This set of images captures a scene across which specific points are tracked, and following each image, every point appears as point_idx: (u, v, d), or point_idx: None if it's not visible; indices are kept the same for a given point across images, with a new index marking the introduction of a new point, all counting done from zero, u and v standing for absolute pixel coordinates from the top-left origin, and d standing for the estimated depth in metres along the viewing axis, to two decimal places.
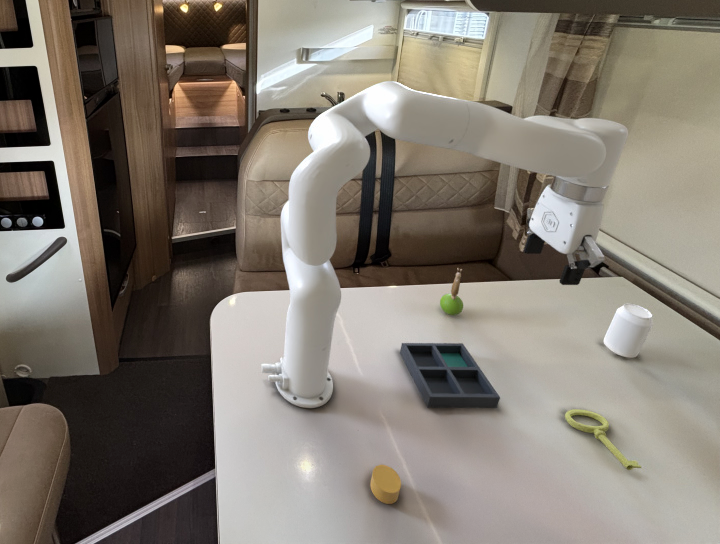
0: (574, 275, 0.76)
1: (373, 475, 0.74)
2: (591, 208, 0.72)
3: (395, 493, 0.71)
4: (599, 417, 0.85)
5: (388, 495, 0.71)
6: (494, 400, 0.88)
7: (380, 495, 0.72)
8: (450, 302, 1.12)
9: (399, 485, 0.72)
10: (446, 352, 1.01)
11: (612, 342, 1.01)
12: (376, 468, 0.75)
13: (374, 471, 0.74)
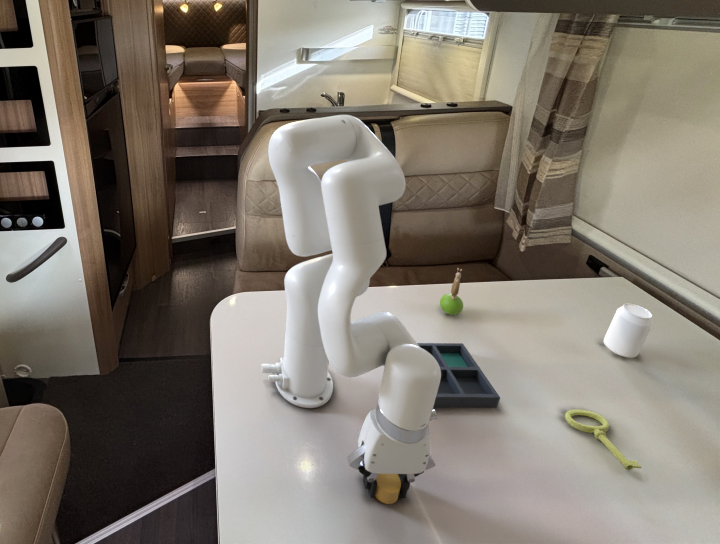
0: (364, 475, 0.74)
1: None
2: (370, 419, 0.69)
3: (395, 494, 0.71)
4: (599, 417, 0.85)
5: (388, 495, 0.71)
6: (494, 400, 0.88)
7: (380, 495, 0.72)
8: (450, 302, 1.12)
9: (399, 485, 0.72)
10: (446, 352, 1.01)
11: (612, 342, 1.01)
12: None
13: None
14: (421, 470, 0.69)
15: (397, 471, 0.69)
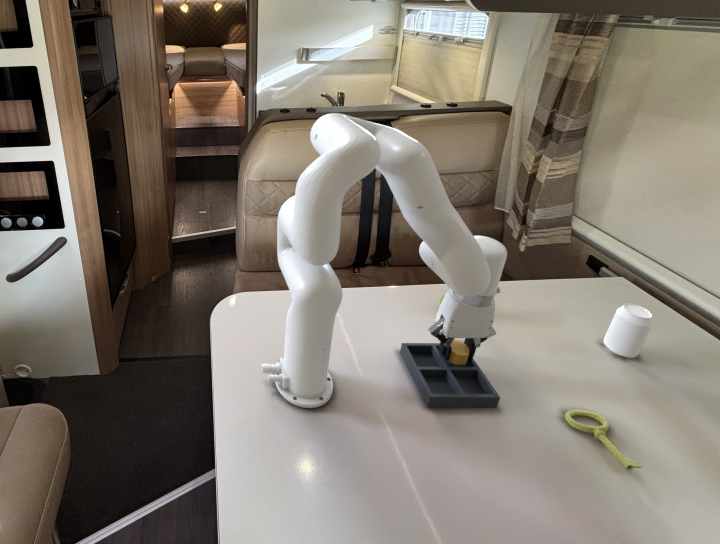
0: (440, 345, 0.97)
1: None
2: (448, 296, 0.92)
3: (466, 356, 0.94)
4: (599, 417, 0.85)
5: (460, 357, 0.94)
6: (494, 400, 0.88)
7: (454, 358, 0.95)
8: None
9: (468, 350, 0.95)
10: None
11: (612, 342, 1.01)
12: None
13: None
14: (486, 334, 0.92)
15: (468, 336, 0.92)
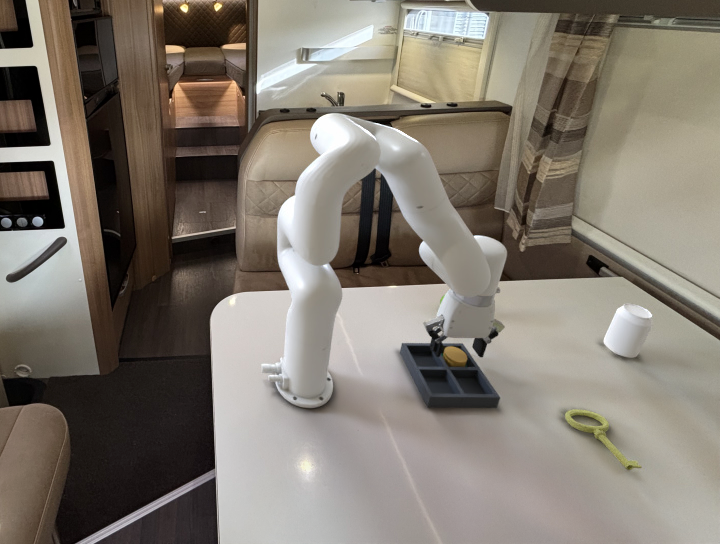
0: (431, 341, 0.96)
1: (445, 352, 0.97)
2: (448, 296, 0.92)
3: (463, 363, 0.95)
4: (599, 417, 0.85)
5: (458, 364, 0.95)
6: (494, 400, 0.88)
7: (452, 366, 0.96)
8: None
9: (466, 358, 0.96)
10: None
11: (612, 342, 1.01)
12: (446, 348, 0.98)
13: (445, 350, 0.98)
14: (486, 334, 0.92)
15: (468, 335, 0.92)
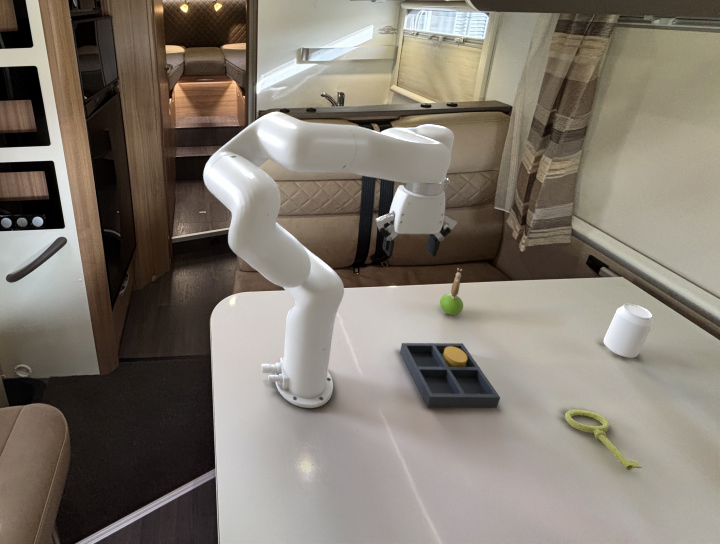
0: (383, 241, 0.95)
1: (445, 352, 0.97)
2: (398, 190, 0.90)
3: (463, 363, 0.95)
4: (599, 417, 0.85)
5: (458, 364, 0.95)
6: (494, 400, 0.88)
7: (452, 366, 0.96)
8: (450, 302, 1.12)
9: (466, 358, 0.96)
10: None
11: (612, 342, 1.01)
12: (446, 348, 0.98)
13: (445, 350, 0.98)
14: (438, 230, 0.91)
15: (419, 231, 0.91)
